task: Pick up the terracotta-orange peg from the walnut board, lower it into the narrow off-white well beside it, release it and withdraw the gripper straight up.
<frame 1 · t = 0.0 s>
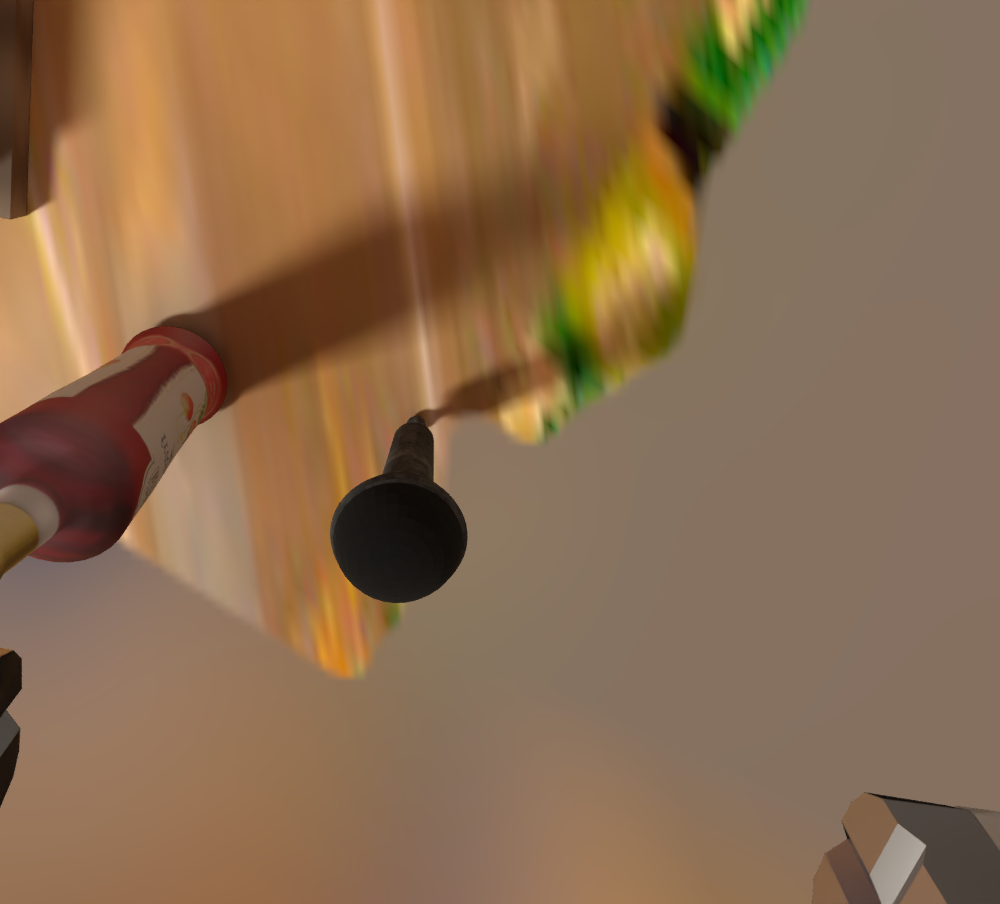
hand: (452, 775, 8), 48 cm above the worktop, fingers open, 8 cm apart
liquor: (180, 371, 56), on the worktop
microphone: (416, 421, 58), on the worktop
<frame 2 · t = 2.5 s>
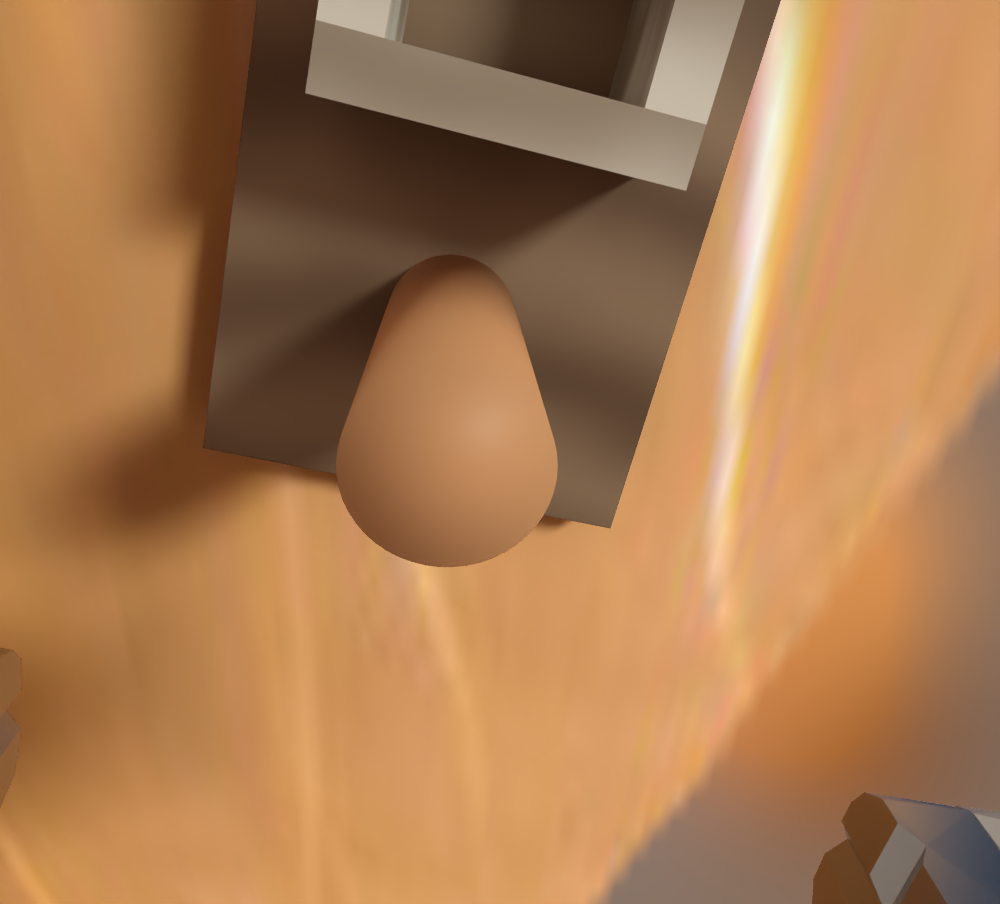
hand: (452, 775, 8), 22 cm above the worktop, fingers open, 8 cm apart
well board: (485, 151, 26), on the worktop
peg: (451, 319, 26), point 2 cm above the worktop, touching well board
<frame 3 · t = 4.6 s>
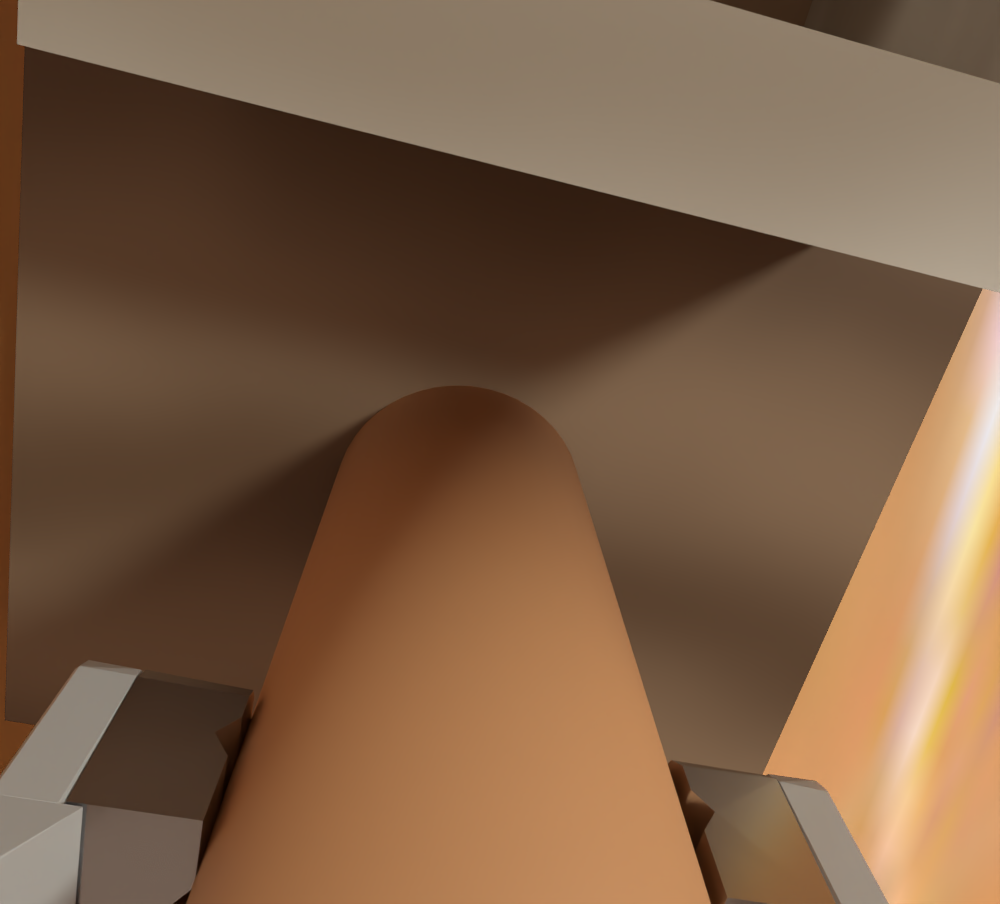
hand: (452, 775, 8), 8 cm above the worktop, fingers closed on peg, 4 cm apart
well board: (525, 182, 14), on the worktop
peg: (458, 501, 14), point 2 cm above the worktop, touching gripper, well board
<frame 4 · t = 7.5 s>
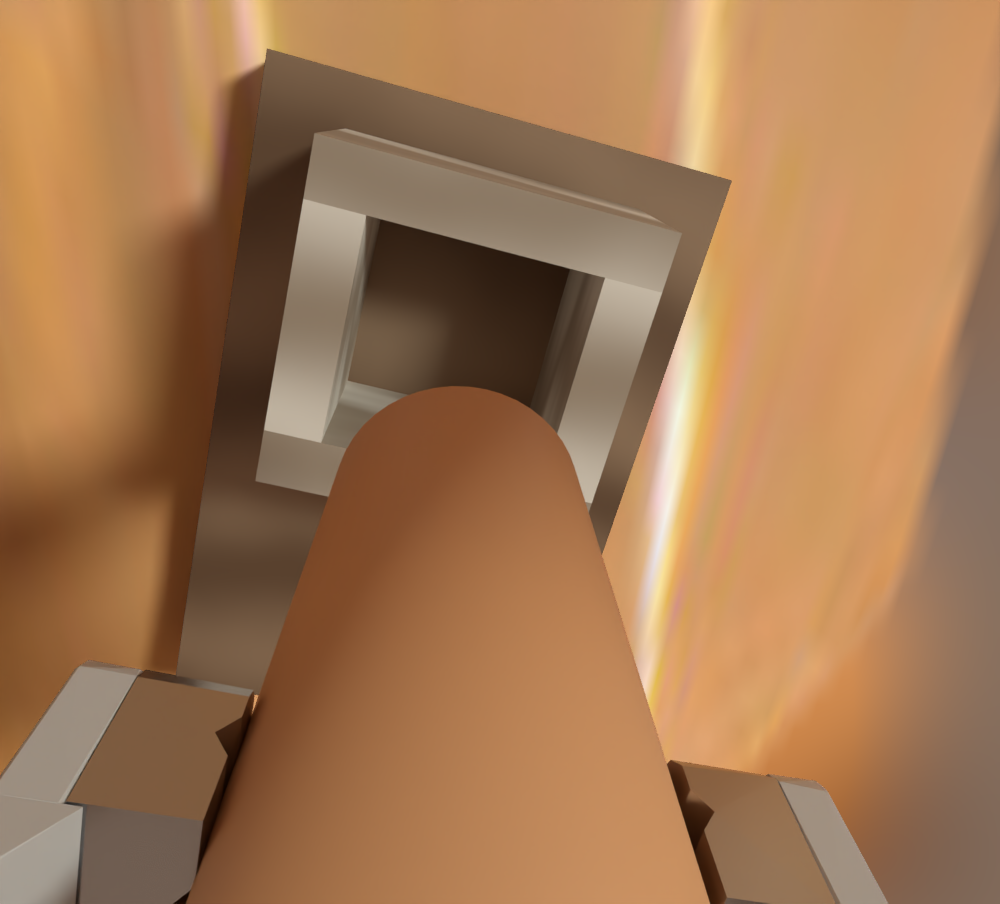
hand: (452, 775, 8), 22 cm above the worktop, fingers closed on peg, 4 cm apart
well board: (426, 435, 30), on the worktop
peg: (457, 502, 14), point 16 cm above the worktop, touching gripper
when the fingers open (10 cm above the worktop, at t = 10.3 s): peg drops 1 cm, resting on well board.
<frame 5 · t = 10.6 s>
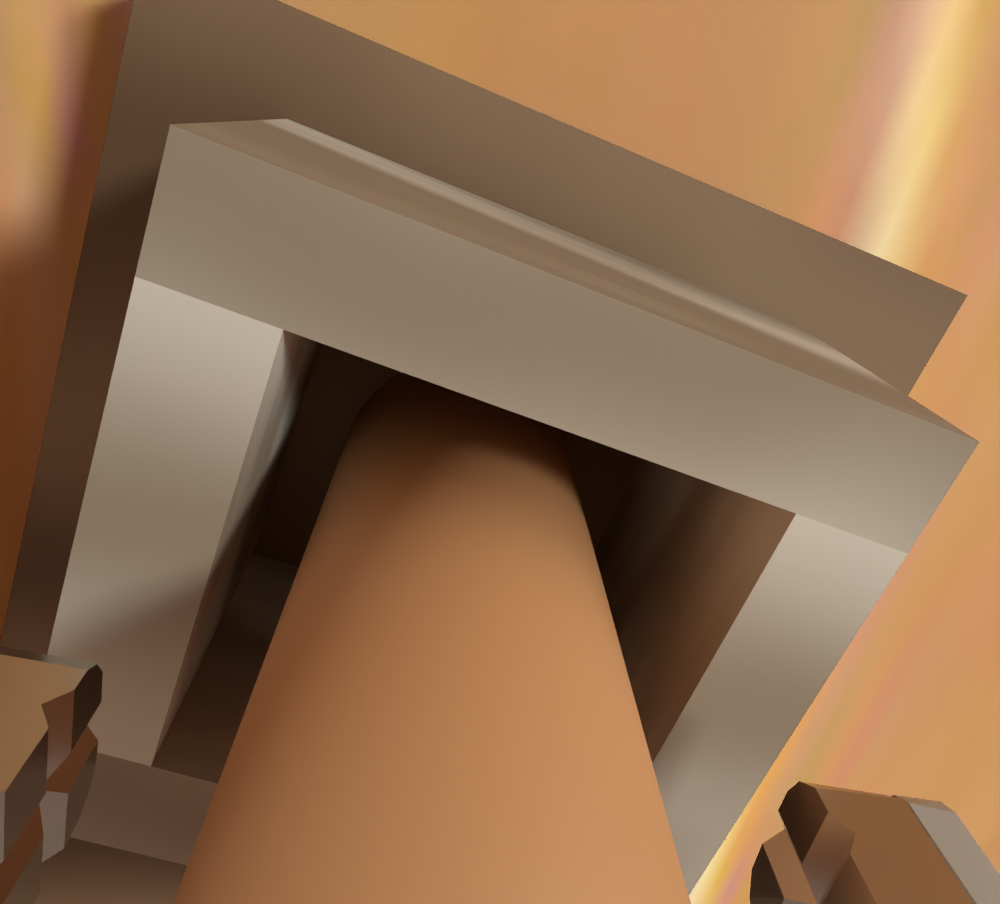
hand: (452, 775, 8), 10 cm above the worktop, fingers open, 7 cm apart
well board: (382, 624, 19), on the worktop
peg: (456, 467, 15), point 2 cm above the worktop, touching well board
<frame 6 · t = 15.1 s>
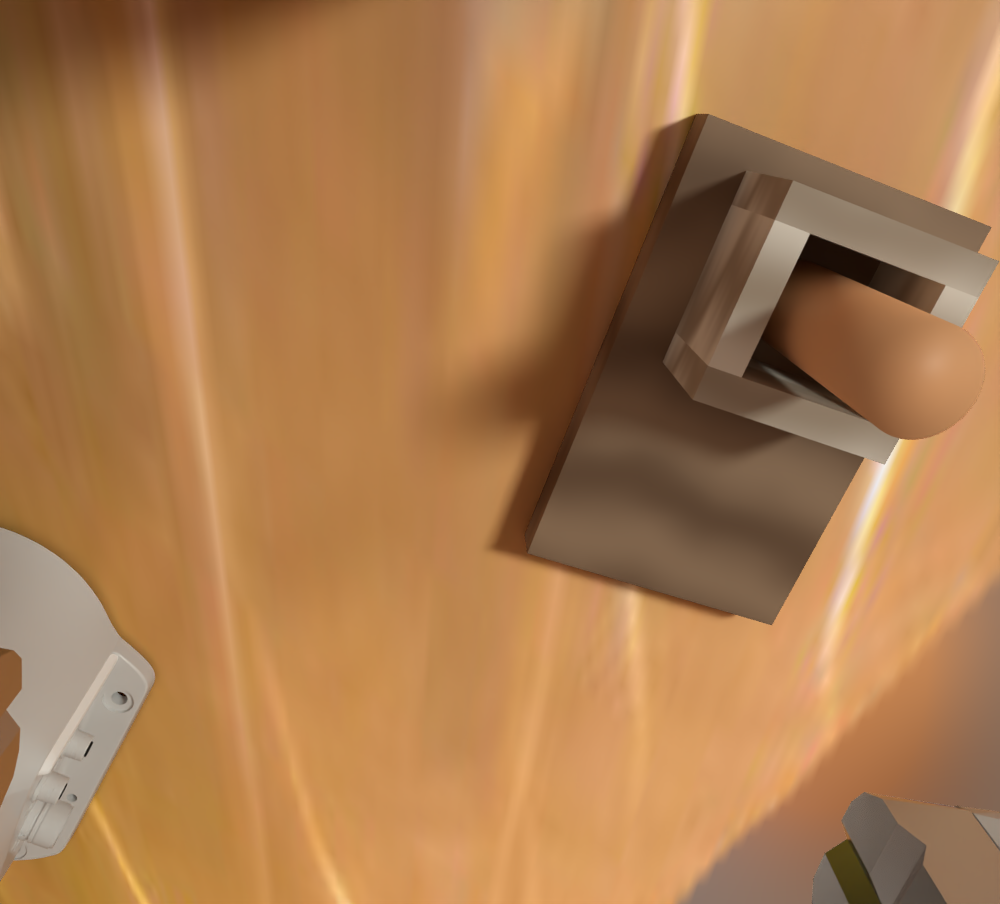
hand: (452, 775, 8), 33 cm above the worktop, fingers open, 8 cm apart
well board: (731, 388, 42), on the worktop
peg: (790, 303, 38), point 2 cm above the worktop, touching well board
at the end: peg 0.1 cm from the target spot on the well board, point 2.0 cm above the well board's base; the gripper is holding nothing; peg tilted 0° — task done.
